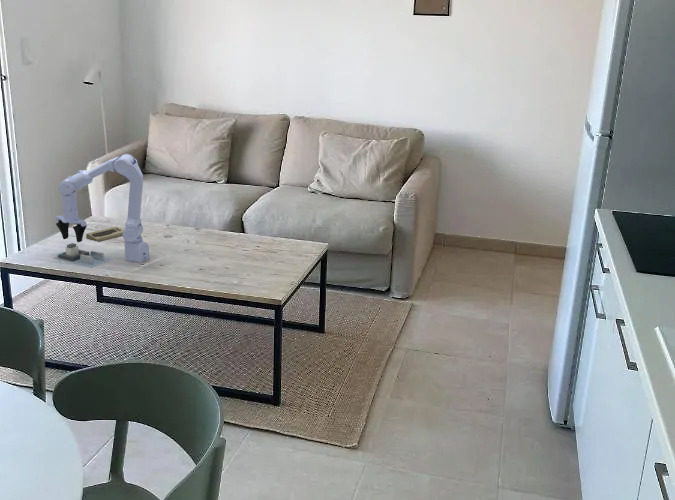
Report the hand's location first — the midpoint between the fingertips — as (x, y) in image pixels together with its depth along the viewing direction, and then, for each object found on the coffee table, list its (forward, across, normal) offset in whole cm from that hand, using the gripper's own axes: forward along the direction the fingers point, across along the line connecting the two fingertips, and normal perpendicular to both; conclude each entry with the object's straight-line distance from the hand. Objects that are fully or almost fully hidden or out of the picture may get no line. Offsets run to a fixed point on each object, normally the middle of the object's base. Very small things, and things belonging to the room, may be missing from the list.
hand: (72, 240), depth 297 cm
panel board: (+8, +5, 0) cm, 10 cm away
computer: (+9, -10, +29) cm, 32 cm away
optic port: (+7, 0, 0) cm, 7 cm away
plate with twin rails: (+7, +10, 0) cm, 12 cm away
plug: (+7, 0, -1) cm, 7 cm away
